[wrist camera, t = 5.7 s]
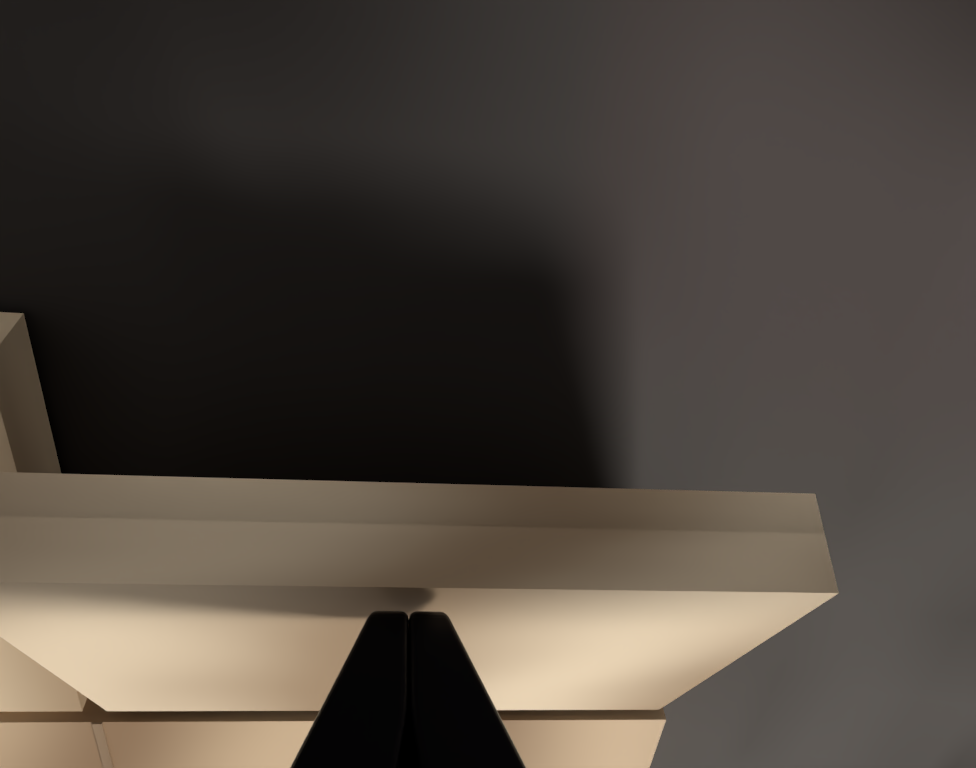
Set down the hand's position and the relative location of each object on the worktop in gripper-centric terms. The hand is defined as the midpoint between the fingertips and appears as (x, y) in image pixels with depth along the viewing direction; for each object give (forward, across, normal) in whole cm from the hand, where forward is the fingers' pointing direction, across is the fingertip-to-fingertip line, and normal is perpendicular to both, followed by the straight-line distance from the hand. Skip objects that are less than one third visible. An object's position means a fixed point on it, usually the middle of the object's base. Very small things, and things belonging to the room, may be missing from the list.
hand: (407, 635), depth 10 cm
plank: (+3, 0, +2) cm, 3 cm away
